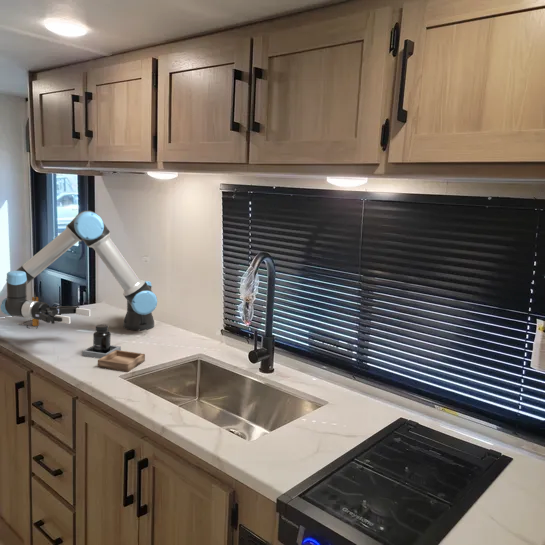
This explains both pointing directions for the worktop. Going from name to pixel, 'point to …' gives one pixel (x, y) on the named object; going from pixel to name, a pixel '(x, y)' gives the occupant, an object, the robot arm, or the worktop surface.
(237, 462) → the worktop surface
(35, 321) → the multimeter
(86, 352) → the gray square frame
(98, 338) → the supplement bottle
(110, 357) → the walnut tray
